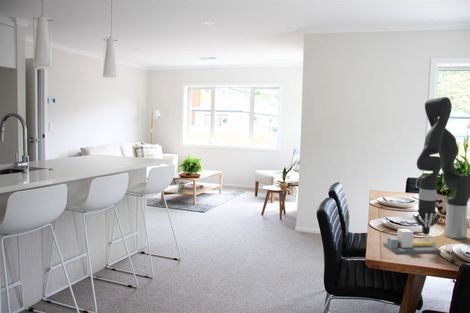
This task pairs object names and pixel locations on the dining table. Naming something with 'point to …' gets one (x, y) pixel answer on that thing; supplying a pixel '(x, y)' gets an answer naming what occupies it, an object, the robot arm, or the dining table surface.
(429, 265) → the dining table surface
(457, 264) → the dining table surface
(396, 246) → the linear slide rail
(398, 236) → the sleeve
